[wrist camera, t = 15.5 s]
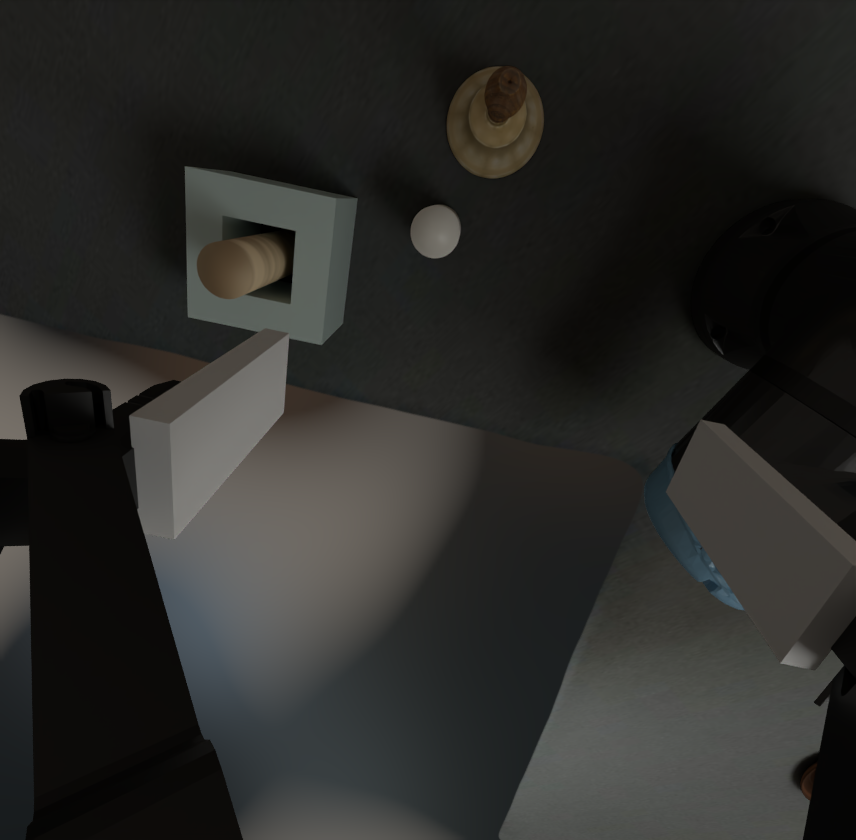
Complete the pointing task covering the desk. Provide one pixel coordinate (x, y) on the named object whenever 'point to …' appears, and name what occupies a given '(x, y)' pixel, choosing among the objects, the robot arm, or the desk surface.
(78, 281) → the desk surface
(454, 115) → the hand bell
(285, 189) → the hole block
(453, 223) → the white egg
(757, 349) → the robot arm
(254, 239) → the long pin
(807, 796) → the cup and saucer
